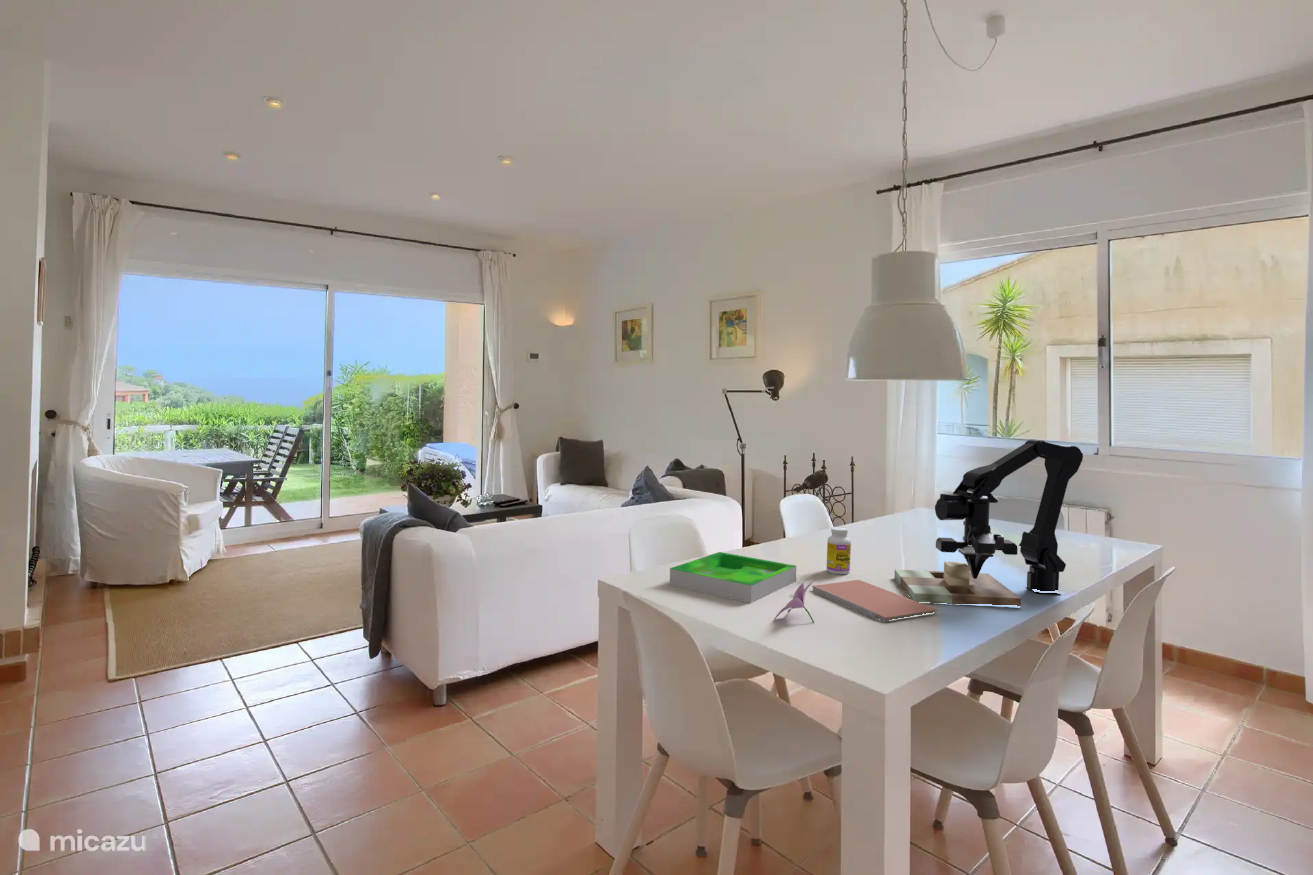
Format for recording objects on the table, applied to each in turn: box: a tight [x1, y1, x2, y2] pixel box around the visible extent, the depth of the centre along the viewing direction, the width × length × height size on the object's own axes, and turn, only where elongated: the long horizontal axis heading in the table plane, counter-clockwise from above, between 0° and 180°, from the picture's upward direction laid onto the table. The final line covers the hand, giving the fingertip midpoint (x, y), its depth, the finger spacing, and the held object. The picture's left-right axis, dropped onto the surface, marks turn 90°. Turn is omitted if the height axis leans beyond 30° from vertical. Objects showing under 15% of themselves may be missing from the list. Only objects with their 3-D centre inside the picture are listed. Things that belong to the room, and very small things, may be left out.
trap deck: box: [894, 568, 1022, 607], centre depth 177 cm, size 25×23×2 cm
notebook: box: [811, 579, 938, 622], centre depth 168 cm, size 27×17×2 cm, turn 24°
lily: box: [774, 580, 815, 624], centre depth 154 cm, size 12×12×10 cm
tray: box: [669, 551, 797, 604], centre depth 183 cm, size 25×25×5 cm
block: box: [943, 561, 971, 586], centre depth 176 cm, size 5×5×5 cm
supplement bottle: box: [826, 526, 852, 575], centre depth 195 cm, size 7×7×13 cm
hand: (974, 578), depth 176 cm, fingers closed
